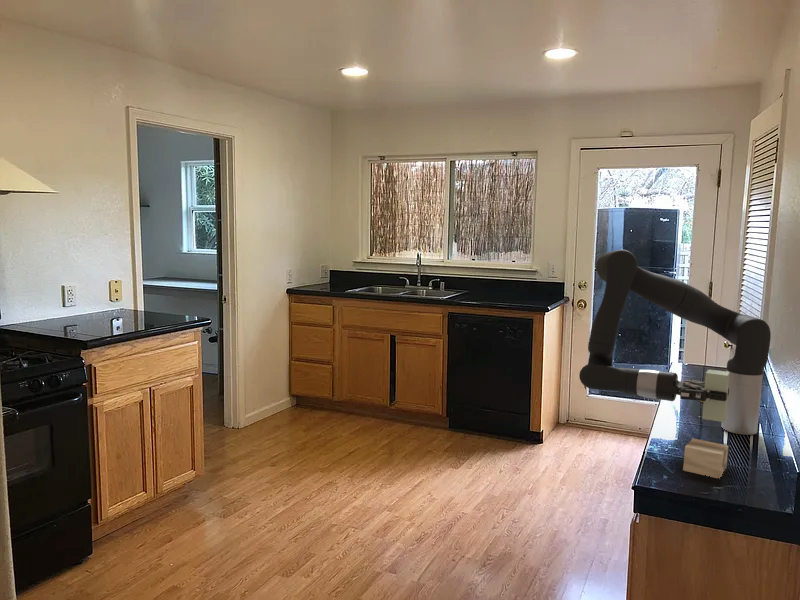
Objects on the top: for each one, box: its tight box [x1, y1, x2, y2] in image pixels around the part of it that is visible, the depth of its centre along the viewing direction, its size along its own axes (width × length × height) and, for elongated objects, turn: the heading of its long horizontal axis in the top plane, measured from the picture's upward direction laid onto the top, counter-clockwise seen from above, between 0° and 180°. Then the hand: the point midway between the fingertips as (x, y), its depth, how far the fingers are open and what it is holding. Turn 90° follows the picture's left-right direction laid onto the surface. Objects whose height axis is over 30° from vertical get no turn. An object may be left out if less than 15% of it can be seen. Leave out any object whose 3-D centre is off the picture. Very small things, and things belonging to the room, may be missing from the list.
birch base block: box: [682, 438, 729, 480], centre depth 155 cm, size 8×8×6 cm
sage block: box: [701, 369, 729, 423], centre depth 166 cm, size 5×5×12 cm
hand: (727, 394), depth 165 cm, fingers closed on sage block, 5 cm apart
